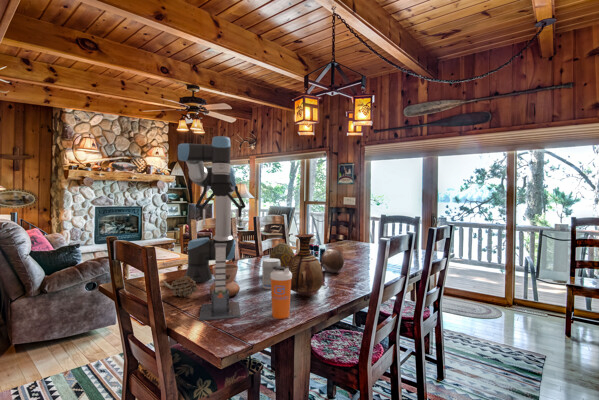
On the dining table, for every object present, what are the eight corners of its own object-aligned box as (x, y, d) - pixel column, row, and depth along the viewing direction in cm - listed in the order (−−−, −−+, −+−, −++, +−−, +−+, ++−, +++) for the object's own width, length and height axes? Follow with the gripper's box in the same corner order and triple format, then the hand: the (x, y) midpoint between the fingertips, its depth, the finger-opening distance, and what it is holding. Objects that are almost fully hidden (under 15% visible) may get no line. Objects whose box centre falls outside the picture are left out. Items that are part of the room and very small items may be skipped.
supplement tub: (283, 288, 172) (283, 260, 172) (267, 291, 167) (267, 262, 167) (274, 284, 181) (274, 257, 180) (259, 286, 175) (259, 259, 175)
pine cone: (202, 295, 159) (202, 275, 159) (188, 301, 150) (188, 280, 150) (167, 290, 167) (167, 270, 167) (152, 295, 158) (152, 274, 158)
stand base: (201, 306, 144) (201, 285, 144) (238, 304, 147) (238, 283, 147) (199, 320, 128) (199, 297, 128) (240, 317, 132) (240, 294, 132)
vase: (315, 305, 147) (316, 238, 146) (278, 300, 153) (279, 236, 153) (328, 291, 167) (328, 233, 166) (294, 287, 173) (295, 231, 173)
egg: (263, 275, 200) (263, 242, 199) (284, 271, 210) (284, 240, 210) (280, 280, 187) (280, 245, 187) (301, 276, 198) (301, 243, 198)
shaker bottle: (269, 311, 138) (270, 264, 138) (291, 311, 139) (291, 264, 139) (269, 320, 129) (270, 269, 129) (292, 319, 130) (292, 269, 130)
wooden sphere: (316, 272, 207) (316, 249, 206) (327, 268, 219) (328, 246, 219) (337, 276, 198) (337, 251, 198) (348, 271, 210) (348, 248, 210)
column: (214, 290, 139) (214, 243, 139) (226, 289, 141) (226, 243, 140) (214, 293, 135) (214, 245, 134) (226, 292, 136) (226, 244, 135)
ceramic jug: (231, 301, 150) (231, 270, 150) (202, 298, 154) (203, 268, 154) (245, 291, 168) (246, 263, 168) (219, 288, 171) (220, 261, 171)
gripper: (188, 172, 130) (188, 226, 131) (252, 174, 136) (251, 225, 136) (190, 173, 138) (190, 224, 138) (250, 175, 143) (250, 223, 144)
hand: (220, 224), depth 137 cm, fingers open, 13 cm apart
